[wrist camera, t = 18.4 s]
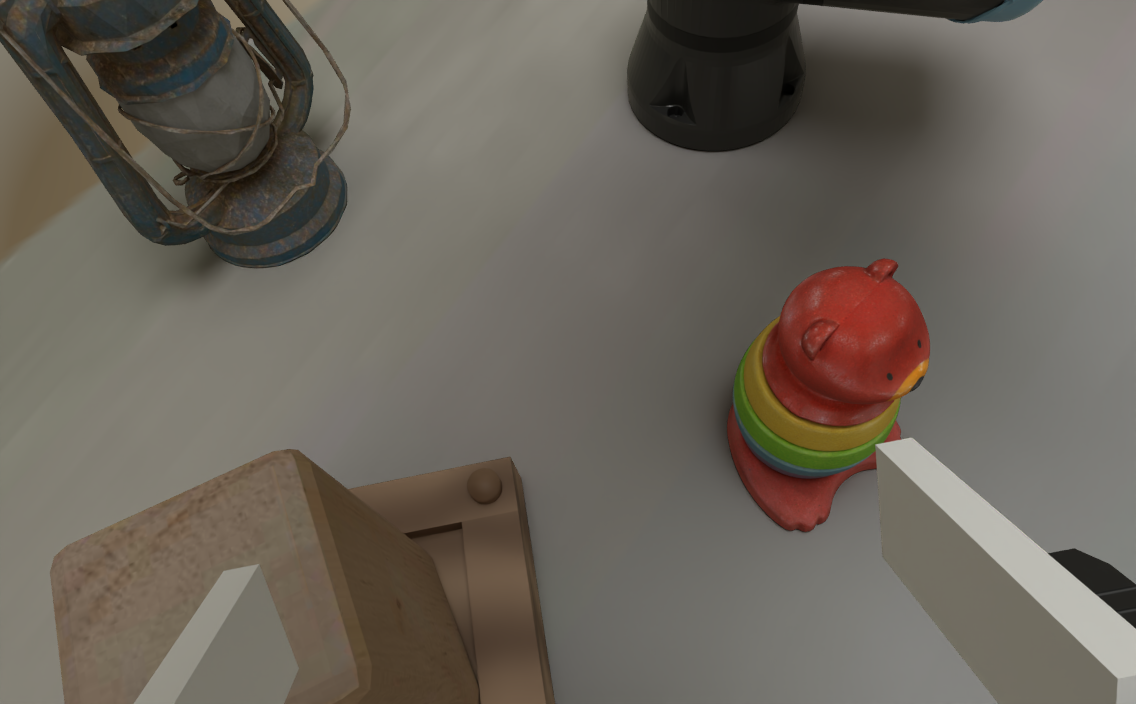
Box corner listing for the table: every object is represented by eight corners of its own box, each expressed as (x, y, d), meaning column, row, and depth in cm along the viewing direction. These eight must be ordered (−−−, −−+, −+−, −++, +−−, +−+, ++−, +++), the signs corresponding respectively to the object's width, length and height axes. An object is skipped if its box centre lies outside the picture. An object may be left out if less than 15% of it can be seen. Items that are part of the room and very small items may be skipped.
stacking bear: (796, 547, 46) (872, 454, 31) (687, 432, 51) (705, 298, 35) (912, 442, 49) (1039, 306, 33) (799, 341, 53) (863, 177, 37)
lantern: (288, 108, 69) (63, -280, 42) (412, 155, 65) (247, -242, 38) (147, 265, 62) (-229, -81, 35) (275, 330, 58) (-44, -9, 31)
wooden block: (490, 707, 41) (370, 692, 23) (323, 794, 40) (64, 847, 22) (430, 546, 46) (292, 431, 28) (278, 619, 44) (33, 548, 27)
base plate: (236, 535, 50) (191, 514, 45) (521, 478, 50) (507, 451, 45) (222, 886, 41) (164, 908, 36) (572, 818, 41) (561, 830, 36)
